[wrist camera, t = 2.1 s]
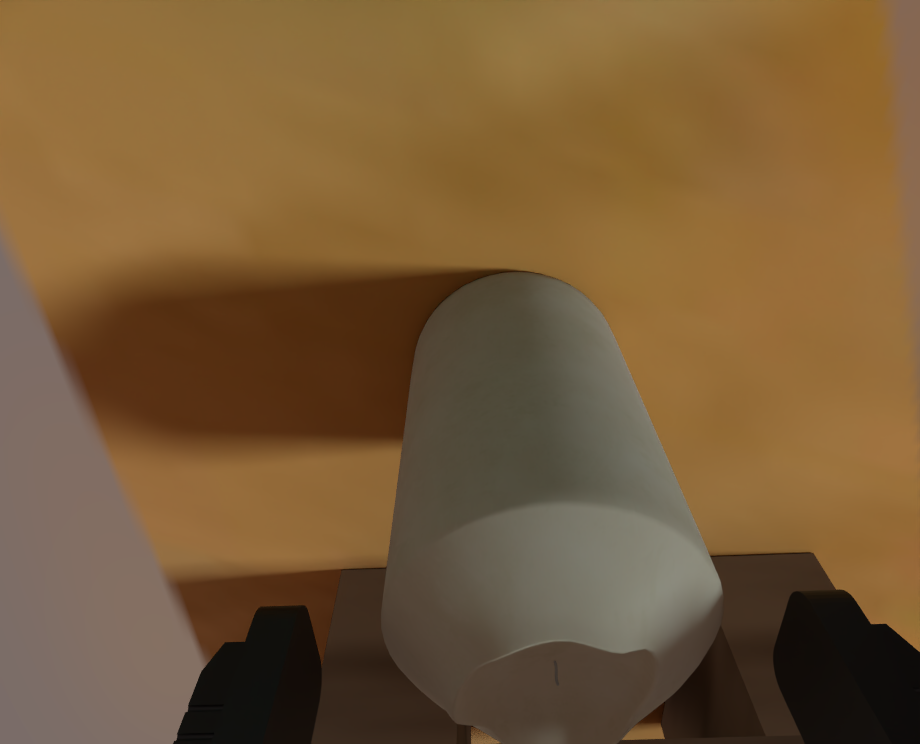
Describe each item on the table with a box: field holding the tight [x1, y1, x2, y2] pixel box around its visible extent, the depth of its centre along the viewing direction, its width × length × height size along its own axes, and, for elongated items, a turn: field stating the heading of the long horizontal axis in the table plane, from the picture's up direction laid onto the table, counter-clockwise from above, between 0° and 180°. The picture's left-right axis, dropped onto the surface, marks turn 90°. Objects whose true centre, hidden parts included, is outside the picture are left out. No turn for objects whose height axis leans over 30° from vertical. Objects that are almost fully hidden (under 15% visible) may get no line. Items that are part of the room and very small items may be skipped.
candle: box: [381, 272, 724, 744], centre depth 13 cm, size 6×6×10 cm
